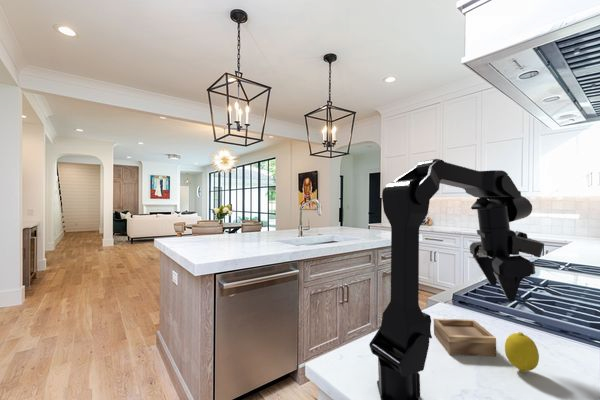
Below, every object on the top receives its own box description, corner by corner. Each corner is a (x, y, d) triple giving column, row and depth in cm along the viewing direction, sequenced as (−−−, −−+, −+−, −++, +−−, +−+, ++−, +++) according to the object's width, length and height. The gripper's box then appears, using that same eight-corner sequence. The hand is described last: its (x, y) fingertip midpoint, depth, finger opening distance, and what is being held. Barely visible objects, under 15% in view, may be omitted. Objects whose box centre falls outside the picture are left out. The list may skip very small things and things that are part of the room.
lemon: (546, 381, 54) (544, 340, 55) (514, 378, 56) (512, 338, 56) (529, 365, 60) (527, 327, 60) (500, 362, 61) (498, 326, 61)
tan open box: (449, 354, 65) (449, 336, 65) (434, 334, 75) (433, 318, 75) (496, 356, 63) (495, 338, 63) (474, 335, 73) (473, 319, 73)
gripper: (563, 229, 53) (571, 310, 53) (514, 216, 71) (521, 277, 71) (496, 235, 56) (505, 311, 56) (465, 221, 74) (472, 279, 74)
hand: (501, 292), depth 65 cm, fingers open, 9 cm apart
